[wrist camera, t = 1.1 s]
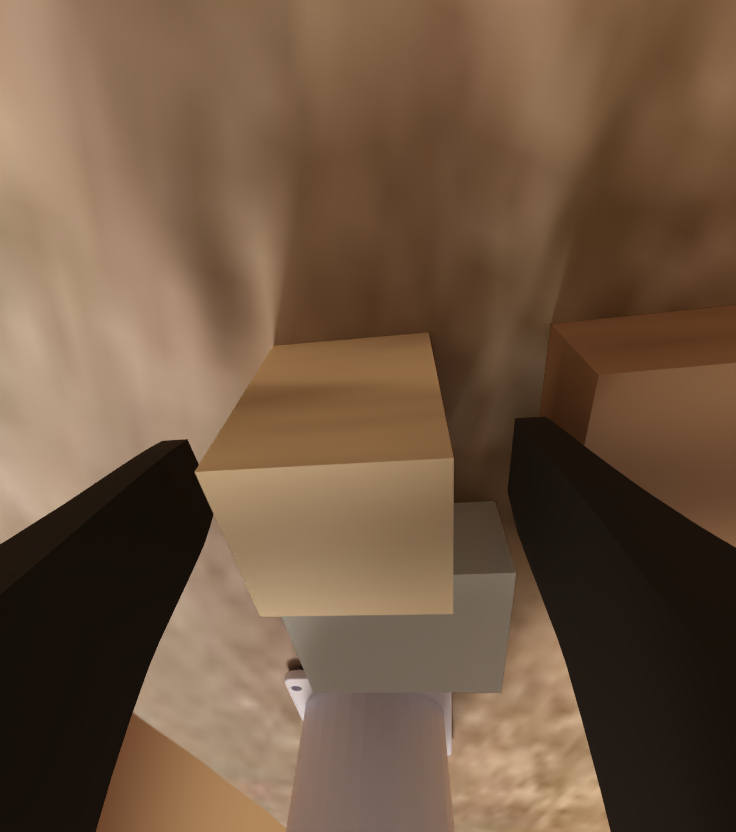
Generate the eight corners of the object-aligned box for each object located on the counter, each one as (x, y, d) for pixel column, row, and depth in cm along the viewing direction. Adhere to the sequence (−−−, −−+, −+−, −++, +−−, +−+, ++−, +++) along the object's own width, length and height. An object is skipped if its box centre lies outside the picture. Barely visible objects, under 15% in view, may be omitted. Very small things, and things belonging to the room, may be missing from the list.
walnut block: (747, 503, 13) (832, 587, 10) (524, 515, 14) (553, 596, 11) (862, 286, 9) (1039, 335, 7) (546, 319, 10) (599, 374, 7)
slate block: (485, 613, 17) (501, 692, 15) (324, 616, 18) (313, 692, 15) (493, 493, 13) (516, 572, 11) (288, 504, 14) (266, 580, 12)
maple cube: (432, 456, 12) (453, 614, 8) (304, 463, 13) (259, 616, 8) (428, 331, 10) (453, 458, 6) (273, 345, 10) (194, 471, 6)
